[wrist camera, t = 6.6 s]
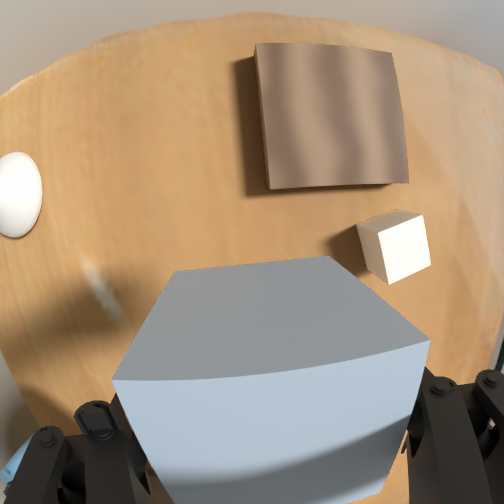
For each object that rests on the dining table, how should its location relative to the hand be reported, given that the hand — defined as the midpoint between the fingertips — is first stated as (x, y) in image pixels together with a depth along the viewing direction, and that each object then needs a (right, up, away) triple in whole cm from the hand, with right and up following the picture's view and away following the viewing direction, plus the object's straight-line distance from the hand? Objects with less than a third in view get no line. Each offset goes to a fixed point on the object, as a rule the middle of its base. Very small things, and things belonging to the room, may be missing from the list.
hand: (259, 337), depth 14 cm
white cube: (+16, +6, +21) cm, 27 cm away
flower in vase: (-31, +12, +17) cm, 37 cm away
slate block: (0, 0, 0) cm, 0 cm away
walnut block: (+9, +20, +18) cm, 28 cm away
